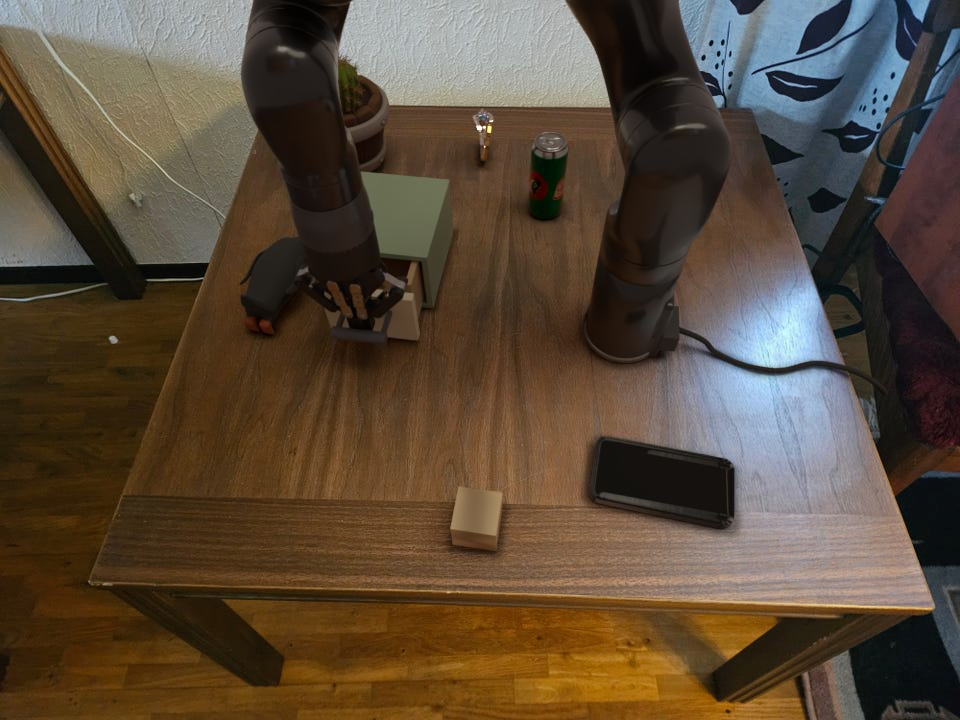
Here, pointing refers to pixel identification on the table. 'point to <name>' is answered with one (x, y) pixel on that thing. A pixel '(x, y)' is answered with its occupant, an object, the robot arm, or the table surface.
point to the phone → (663, 482)
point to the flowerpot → (363, 114)
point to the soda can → (547, 175)
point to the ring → (483, 131)
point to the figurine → (271, 282)
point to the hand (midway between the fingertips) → (364, 330)
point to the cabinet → (413, 222)
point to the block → (476, 518)
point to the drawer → (398, 318)
